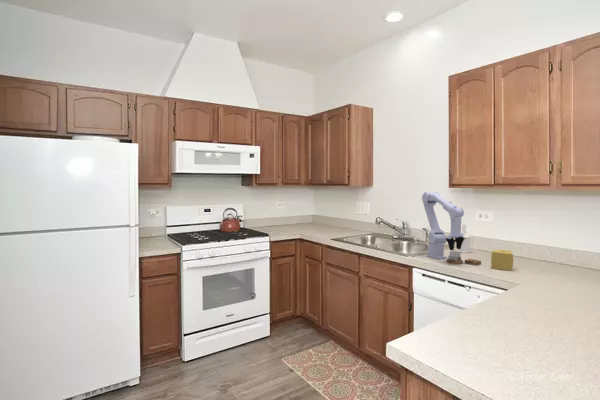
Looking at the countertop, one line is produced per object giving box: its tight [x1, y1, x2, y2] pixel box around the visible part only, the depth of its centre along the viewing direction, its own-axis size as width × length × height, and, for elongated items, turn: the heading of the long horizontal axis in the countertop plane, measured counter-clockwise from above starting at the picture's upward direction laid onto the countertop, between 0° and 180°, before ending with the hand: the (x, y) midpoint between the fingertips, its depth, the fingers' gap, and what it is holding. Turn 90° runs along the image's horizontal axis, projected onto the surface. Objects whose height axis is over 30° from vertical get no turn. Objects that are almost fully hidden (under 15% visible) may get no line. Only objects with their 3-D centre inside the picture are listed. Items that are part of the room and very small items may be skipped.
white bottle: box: [455, 223, 474, 254], centre depth 236 cm, size 10×9×20 cm
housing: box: [447, 250, 462, 261], centre depth 202 cm, size 6×4×5 cm, turn 34°
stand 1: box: [445, 258, 464, 266], centre depth 202 cm, size 7×6×2 cm
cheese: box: [490, 249, 514, 272], centre depth 192 cm, size 10×11×10 cm
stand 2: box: [464, 258, 482, 266], centre depth 201 cm, size 7×6×2 cm
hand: (455, 249), depth 202 cm, fingers open, 7 cm apart
